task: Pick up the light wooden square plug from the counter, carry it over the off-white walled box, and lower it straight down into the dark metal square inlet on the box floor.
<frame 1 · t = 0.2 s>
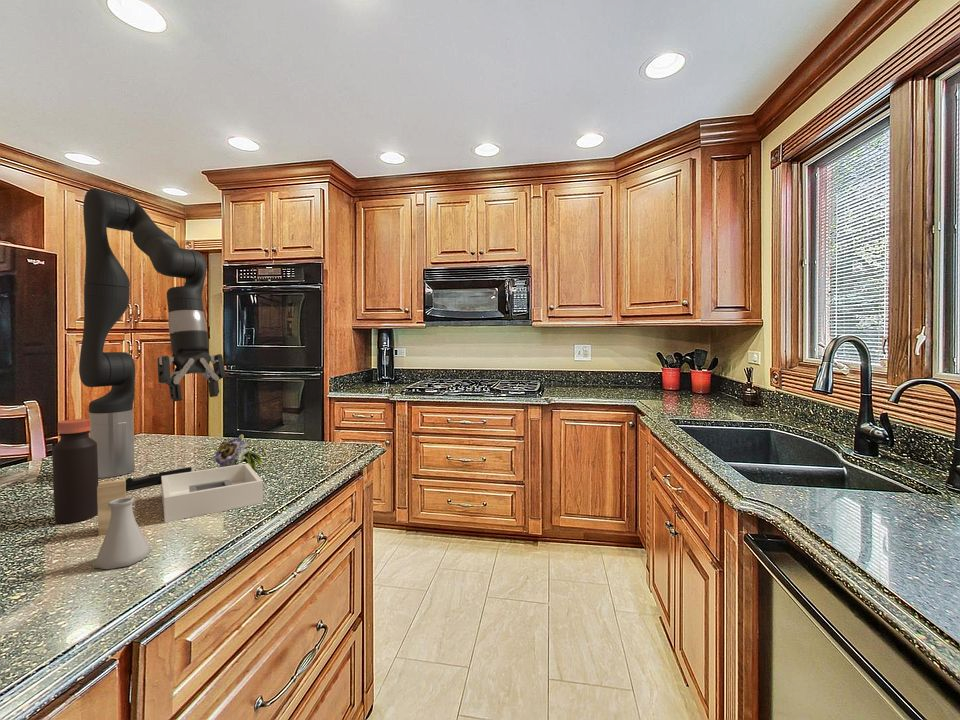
hand: (196, 398, 104), 23 cm above the countertop, tool pointing down, fingers open, 8 cm apart
plug: (113, 529, 84), on the countertop
box: (211, 500, 100), on the countertop
flask: (123, 560, 73), on the countertop
electric trimmer: (155, 485, 112), on the countertop
bottle: (77, 518, 90), on the countertop
passion flower: (239, 470, 124), on the countertop
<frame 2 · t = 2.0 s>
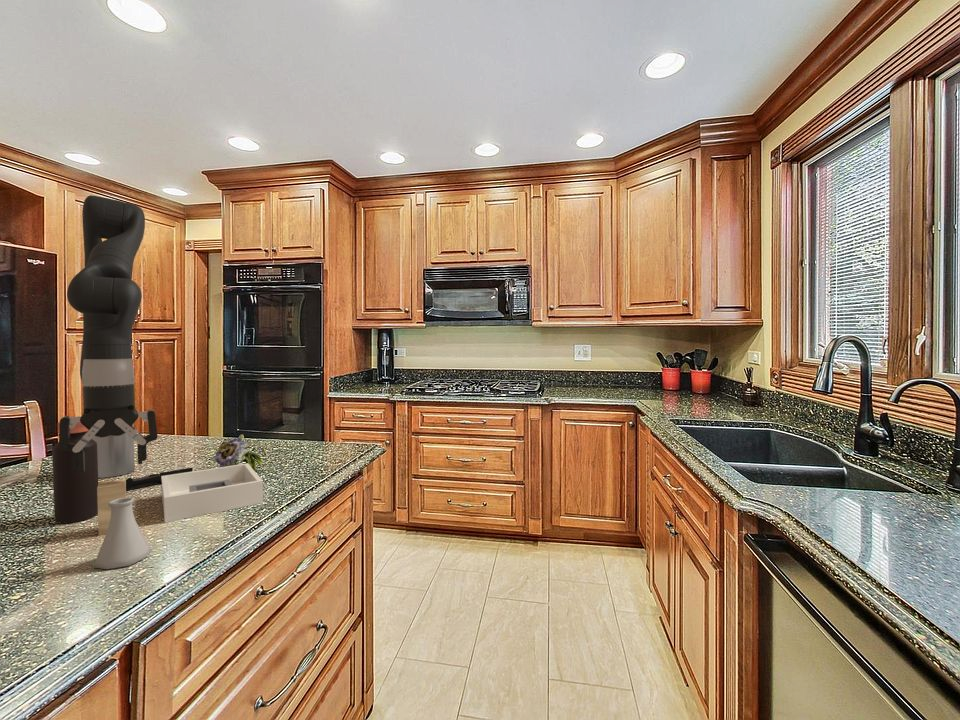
hand: (111, 467, 84), 12 cm above the countertop, tool pointing down, fingers open, 8 cm apart
nothing on the countertop moved.
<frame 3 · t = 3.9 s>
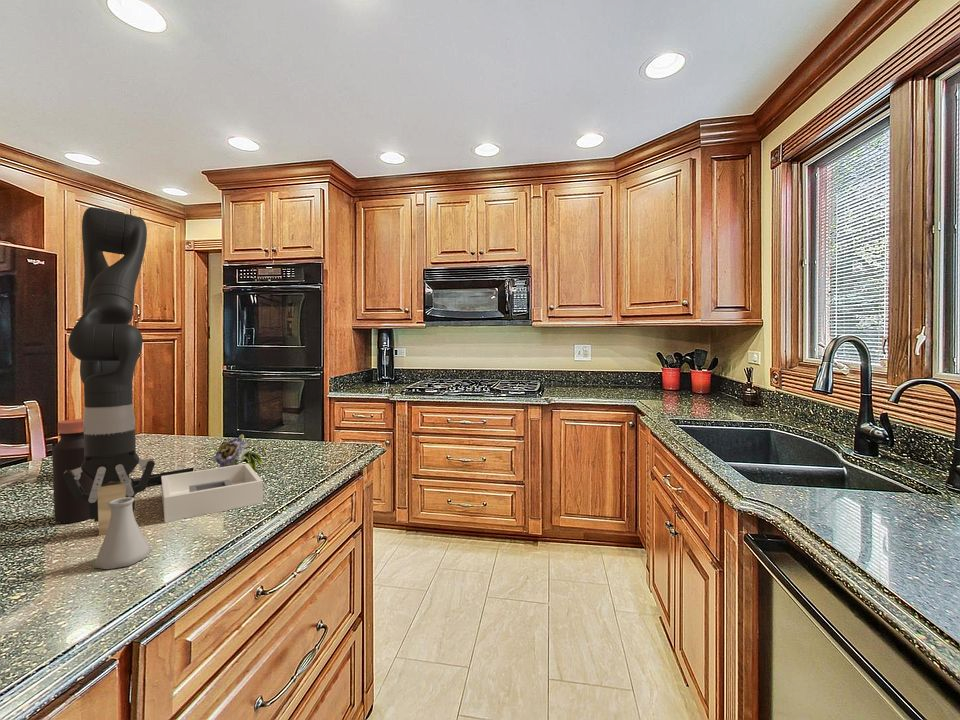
hand: (112, 516, 84), 2 cm above the countertop, tool pointing down, fingers closed on plug, 4 cm apart
plug: (113, 529, 84), on the countertop, touching gripper
everything else where it was.
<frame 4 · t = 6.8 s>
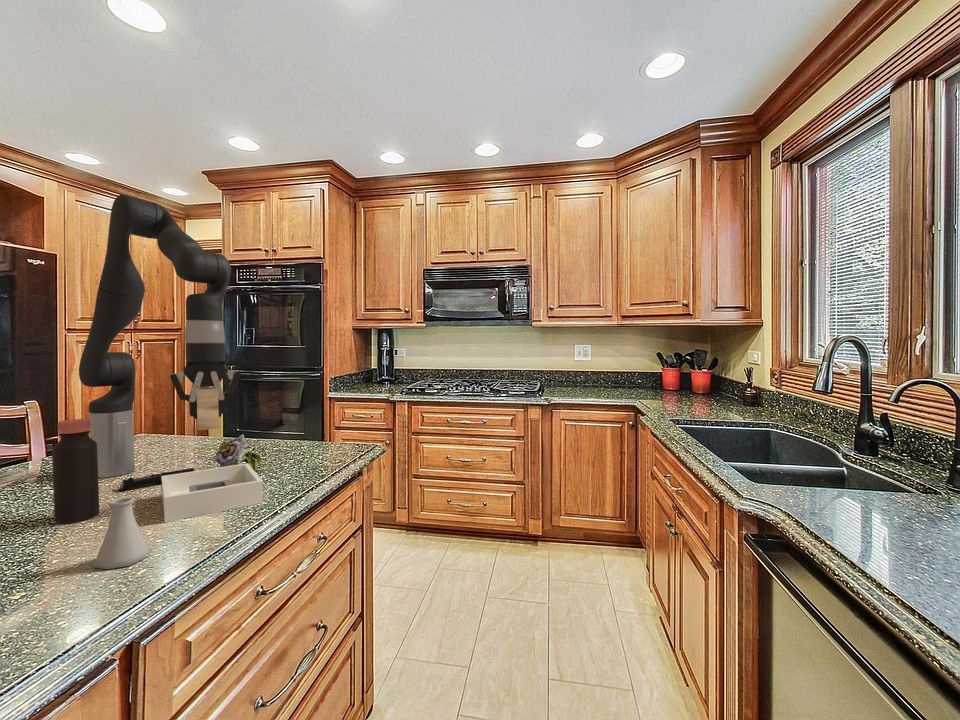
hand: (207, 417, 99), 19 cm above the countertop, tool pointing down, fingers closed on plug, 4 cm apart
plug: (207, 427, 99), point 17 cm above the countertop, touching gripper
everything else where it was.
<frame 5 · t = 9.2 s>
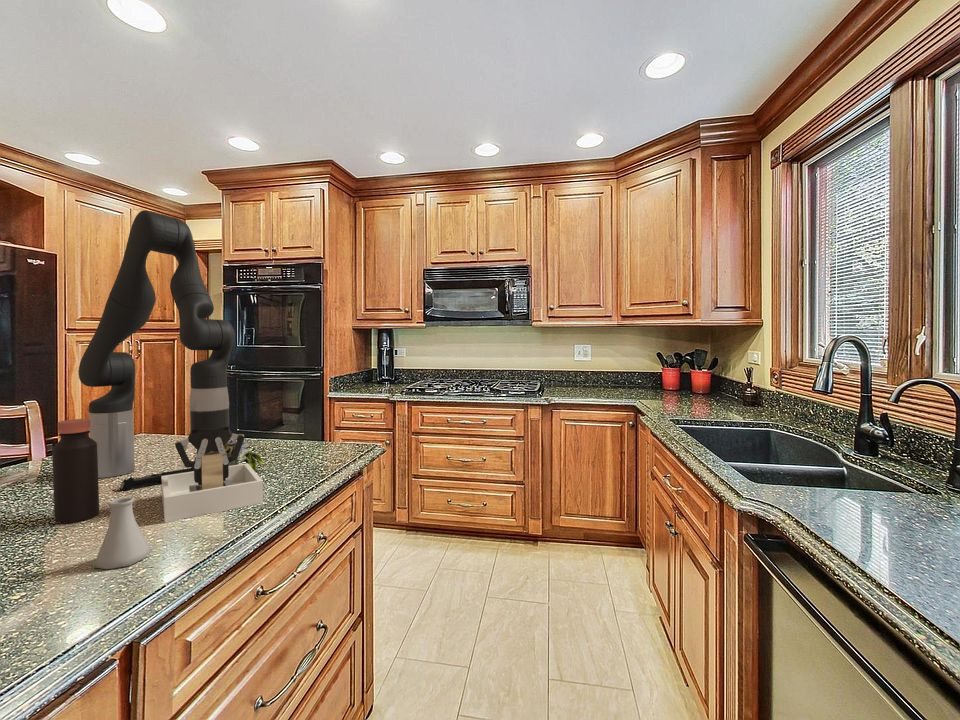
hand: (211, 481, 100), 4 cm above the countertop, tool pointing down, fingers closed on plug, 4 cm apart
plug: (212, 492, 100), point 2 cm above the countertop, touching gripper
everything else where it was.
when the fingers open (4 cm above the countertop, at t = 9.7 s): plug stays where it is, resting on box.
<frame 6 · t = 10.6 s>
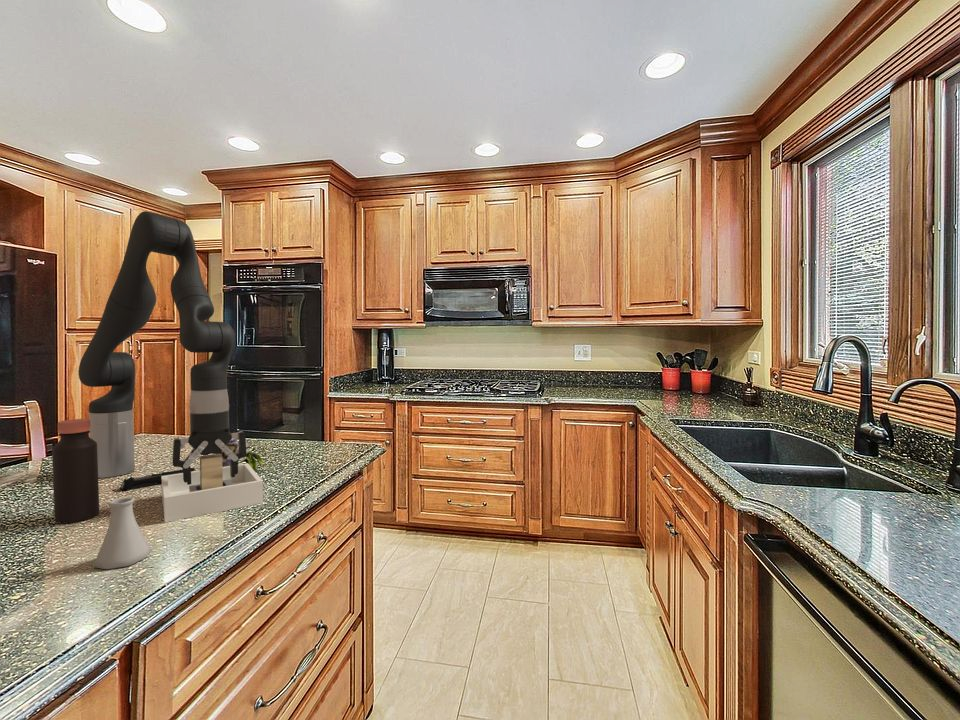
hand: (211, 480, 100), 5 cm above the countertop, tool pointing down, fingers open, 8 cm apart
plug: (211, 495, 100), point 1 cm above the countertop, touching box
everything else where it was.
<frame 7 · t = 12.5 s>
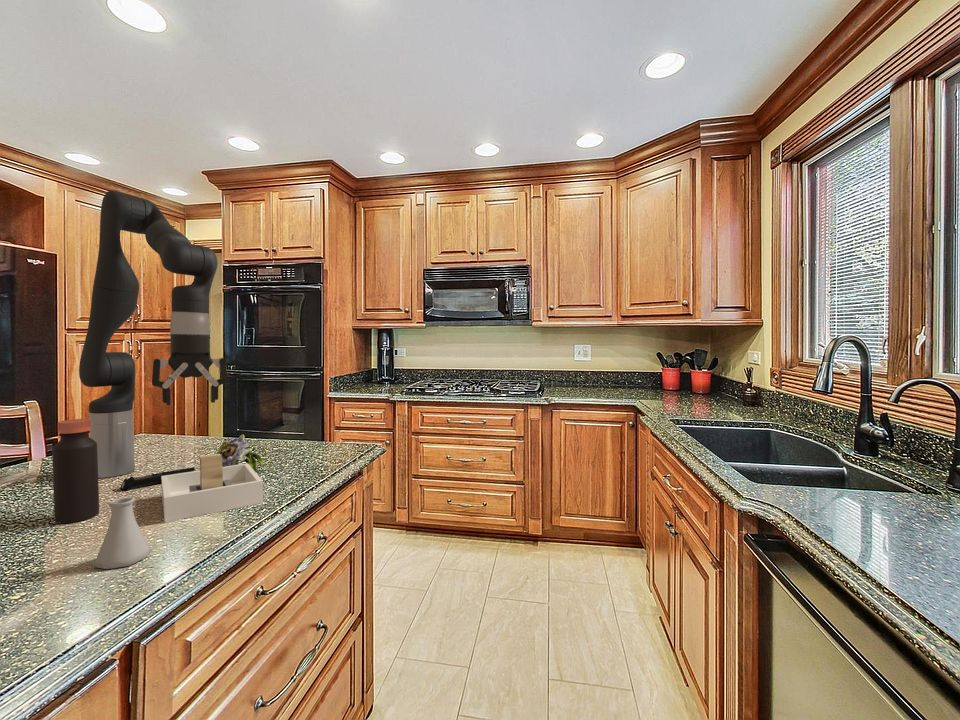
hand: (191, 403, 100), 22 cm above the countertop, tool pointing down, fingers open, 8 cm apart
nothing on the countertop moved.
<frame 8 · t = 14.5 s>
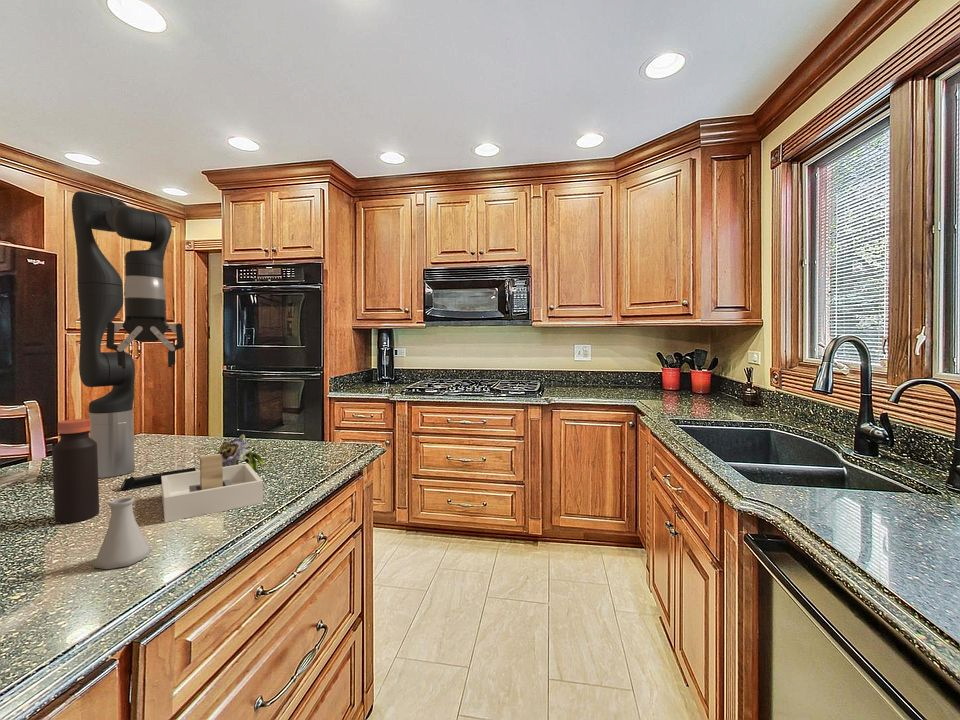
hand: (147, 367, 102), 30 cm above the countertop, tool pointing down, fingers open, 8 cm apart
nothing on the countertop moved.
at the end: plug 0.0 cm off-centre on the box, point 1.0 cm above the box's base; plug tilted 0°; the gripper is holding nothing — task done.
